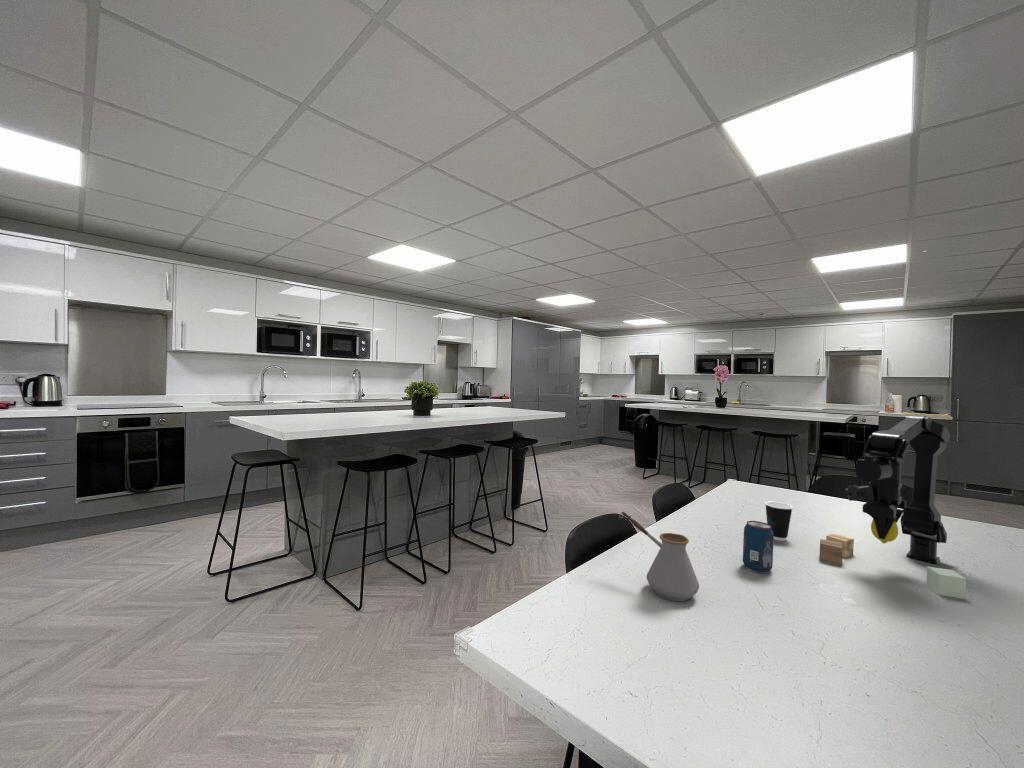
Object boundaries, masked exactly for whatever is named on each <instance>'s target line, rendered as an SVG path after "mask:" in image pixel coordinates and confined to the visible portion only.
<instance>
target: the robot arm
mask: <svg viewBox="0 0 1024 768" xmlns="http://www.w3.org/2000/svg"><path fill="white" fill-rule="evenodd" d="M950 434H951V433H950V431H949V430H948V429H947V427H946V426H945V425H943V424H941V423H939V422H937V421H935V420H932V419H931V417H929V416H927V415H914V414H912V415H911V414H909V415H905V416H904V418H903V419H902V420H901V421H900V422H899V423H897V424H896V425H894V426H892V427H891V428H890V429H886V430H885V429H884V430H877V431H874V432H872V433H871V435H870V436H868V438H867V441H866V444H865V445H864V447H863V450H862V453H861V456H862V457H863V460H860V461H858V462H857V463H856V464H855V467H854V472H855V475H856V476H857V478H859V479H860V480H861V481H864V482H867V483H868V485H861V486H860V485H859V486H858V485H856V484H855V485H848V487H847V488H845V489H844V490H845V496H847V498H848V500H849V502H850V501H855V500H864V499H865V500H866V499H867V502H865V503H864V504H862V513H865V514H867V515H869V517H871V518H872V520H873V519H874V522H875V525H876V529H877V533H878V536H879V538H880V539H885V537H886V536H887V534H888V532H889V530H890V529H891V527H892V525H893V523H894V522H896V524H897V523H898V521H899V520H900V526H901V527H900V528H901V533H902V534H904V535H908V536H910V537H909V539H910V540H909V542H910V543H909V545H910V546H909V551H908V552H907V553H906V554H905V555H906V557H908V558H912V559H916V560H921V561H922V562H924V561H925V562H928V563H932V564H938V562H939V561H940V560H941V559H940V558H941V557H939V556H938V554H937V553H938V544H947V539H948V533H947V531H946V529H945V526H944V524H943V522H942V515H941V513H940V512H939V511H938V509H937V508H936V507H935V495H936V484H937V483H936V481H937V470H938V469H937V468H938V457H939V456H940V455H941V453H943V452H944V451H945V450H946V449H947V444H948V443H949V441H950V439H951V438H950V437H951V435H950ZM910 447H911V448H912V450H913V452H914V453H915V460H914V462H915V463H914V473H913V484H912V485H913V487H912V497H911V502H910V503H909V504H908V505H907V503H908V501H907V500H906V499H905V498H904V497H903V496H901V489H902V488H903V484H902V483H901V479H902V478H901V477H902V464H903V463H904V460H903V459H904V458H905V457H906V454H907V453H908V451H909V448H910ZM898 507H901V509H899V508H898Z"/></svg>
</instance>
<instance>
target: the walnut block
mask: <svg viewBox="0 0 1024 768" xmlns="http://www.w3.org/2000/svg"><path fill="white" fill-rule="evenodd" d="M819 561H820V562H824V563H829V564H834V565H838V566H843V565H842V564H843V557H842V543H839V542H834V541H829V540H826V539H823V538H820V539H819Z"/></svg>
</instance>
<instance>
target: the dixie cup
mask: <svg viewBox="0 0 1024 768" xmlns="http://www.w3.org/2000/svg"><path fill="white" fill-rule="evenodd" d="M764 505H765V514H766V516H765V517H766V523H767V524H769V525H770V526H771V529H772V531H773V533H774V538H773V541H774V540H776V541H780V542H785V541H787V538H788V536H789V531H790V530H789V529H790V524H791V523H790V522H791V517H792V512H793V508H794V506H792V504H788V503H785V502H779V501H772V500H771V501H765V502H764Z"/></svg>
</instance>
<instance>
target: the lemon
mask: <svg viewBox="0 0 1024 768" xmlns="http://www.w3.org/2000/svg"><path fill="white" fill-rule="evenodd" d="M871 520H872V521H871V523H870V529H871V533H872V535H873V536H874V537H875V538H876V539H877V540H879V541H880V542H881V543H882V544H887V543H891V542H894V541H895V540H896V539H897V537H898V535H899V527H898V524H897V523H896V522H894V523H893V525H892V527H891V529H890V530H889V532H888V534H887V536H886V537H885V539H880V538H879V536H878V533H877V529H876V525H875V522H874V519H873V518H872V519H871Z"/></svg>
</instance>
